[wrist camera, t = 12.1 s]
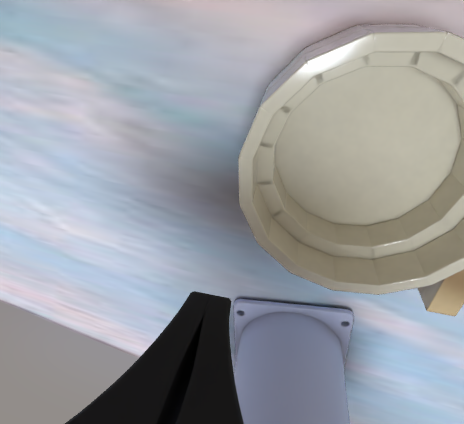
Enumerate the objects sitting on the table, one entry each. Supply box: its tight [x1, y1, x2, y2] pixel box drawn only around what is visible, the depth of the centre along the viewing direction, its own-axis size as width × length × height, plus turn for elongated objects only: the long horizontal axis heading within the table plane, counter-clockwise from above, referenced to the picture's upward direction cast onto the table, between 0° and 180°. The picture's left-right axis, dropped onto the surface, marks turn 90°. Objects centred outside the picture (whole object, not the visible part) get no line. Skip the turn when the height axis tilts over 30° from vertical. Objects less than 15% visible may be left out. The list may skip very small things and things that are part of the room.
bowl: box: [238, 24, 464, 295], centre depth 16 cm, size 11×11×4 cm
